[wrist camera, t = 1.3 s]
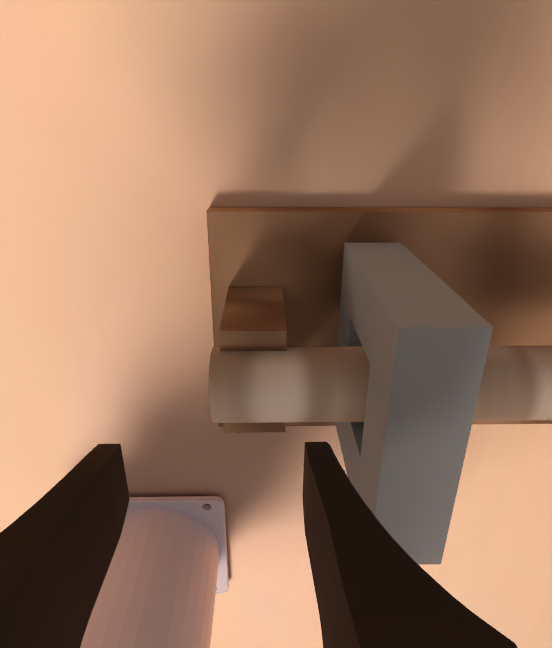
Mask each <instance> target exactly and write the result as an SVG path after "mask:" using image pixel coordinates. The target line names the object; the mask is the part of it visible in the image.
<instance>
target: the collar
mask: <svg viewBox="0 0 552 648" xmlns="http://www.w3.org/2000/svg"><path fill="white" fill-rule="evenodd" d="M492 330H493V326H492V325H491V324H489V323H488V322H487V321H486V320H485V319H484V318H483V317H482V316H481V315H480V314H478V313H477V312H476V311H475V310H474V309H473V308H472V307H471V306H470V305H469V304H467V303H466V302H465V301H464V300H463V299H462V298H461V297H460V296H459V295H458V294H456V293H455V292H454V291H453V290H452V289H451V288H450V287H449V286H448V285H447V284H446V283H444V282H443V281H442V280H441V279H440V278H439V277H438V276H437V275H436V274H435V273H433V272H432V271H431V270H430V269H429V268H428V267H427V266H426V265H425V264H424V263H422V262H421V261H420V260H419V259H418V258H417V257H416V256H415V255H414V254H413V253H411V252H410V251H409V250H408V249H407V248H406V247H405V246H404V245H403V244H402V243H344V256H343V270H342V285H341V300H340V314H339V329H338V343H337V347H338V346H363V349H364V351H365V353H366V356H367V358H368V360H369V363H370V370H369V380H368V389H367V399H366V409H365V418H364V422H335V424H336V428H337V432H338V436H339V441H340V445H341V449H342V454H343V458H344V462H345V467H346V471H347V475H348V478H349V480H350V482H351V483H352V485H353V486H354V488H355V489H356V490H357V492H358V493H359V495H360V496H361V498H362V499H363V501H364V502H365V503H366V505H367V506H368V507H369V509H370V510H371V511H372V513H373V514H374V515H375V517H376V518H377V519H378V520H379V522H380V523H381V524H382V525H383V527H384V528H385V529H386V530H387V531H388V533H389V534H390V535H391V536H392V537H393V538H394V540H395V541H396V542H397V543H398V544H399V545H400V546H401V547H402V548H403V549H404V551H405V552H406V553H407V554H408V555H409V556H410V557H411V558H412V559H413V560H414V561H415V562H416V563H417V564H441V561H442V556H443V552H444V547H445V543H446V538H447V534H448V529H449V525H450V520H451V516H452V511H453V507H454V502H455V497H456V493H457V488H458V484H459V479H460V475H461V470H462V466H463V461H464V457H465V452H466V448H467V443H468V439H469V434H470V430H471V425H472V421H473V416H474V412H475V407H476V403H477V398H478V394H479V389H480V384H481V380H482V375H483V371H484V366H485V362H486V357H487V353H488V348H489V344H490V339H491V335H492Z"/></svg>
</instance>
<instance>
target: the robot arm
mask: <svg viewBox="0 0 552 648" xmlns="http://www.w3.org/2000/svg"><path fill="white" fill-rule="evenodd" d="M205 504H209V505H205ZM303 510H304V524H305V535H306V541H307V546H308V552H309V558H310V564H311V569H312V575H313V580H314V586H315V592H316V597H317V603H318V609H319V615H320V622H321V629H322V639H323V648H517V646H516V644H515V643H514V642H512V641H511V640H510V639H508V638H507V637H505V636H504V635H503V634H501V633H500V632H499V631H497V630H496V629H494V628H493V627H492V626H490V625H489V624H488V623H486V622H485V621H483V620H482V619H481V618H479V617H478V616H476V615H475V614H474V613H473V612H471V611H470V610H469V609H467V608H466V607H465V606H464V605H463V604H461V603H460V602H459V601H458V600H456V599H455V598H454V597H453V596H452V595H450V594H449V593H448V592H447V591H446V590H445V589H444V588H443V587H442V586H441V585H440V584H438V583H437V582H436V581H435V580H434V579H433V578H432V577H431V576H430V575H429V574H428V573H426V572H425V571H424V570H423V569H422V568H421V567H420V566H419V565H418V564H417V563H416V562H415V561H414V560H413V559H412V558H411V557H410V556H409V555H408V554H407V553H406V552H405V551H404V549H403V548H402V547H401V546H400V545H399V544H398V543H397V542H396V541H395V540H394V538H393V537H392V536H391V535H390V534H389V533H388V531H387V530H386V529H385V528H384V527H383V525H382V524H381V523H380V522H379V520H378V519H377V518H376V517H375V515H374V514H373V513H372V511H371V510H370V509H369V507H368V506H367V505H366V503H365V502H364V501H363V499H362V498H361V496H360V495H359V493H358V492H357V490H356V489H355V488H354V486H353V485H352V483H351V482H350V480H349V478H348V477H347V475H346V474H345V472H344V470H343V469H342V467H341V465H340V463H339V462H338V460H337V458H336V456H335V454H334V452H333V450H332V448H331V446H330V445H329V444H328V443H327V442H305V451H304V476H303ZM228 587H229V578H228V559H227V541H226V522H225V503H224V500H223V499H222V498H221V497H219V496H181V497H129V493H128V487H127V481H126V475H125V469H124V463H123V457H122V451H121V445H120V444H98V445H97V446H96V447H95V448H94V449H93V450H92V451H91V452H89V453H88V454H87V455H86V456H85V457H84V458H83V459H82V460H81V461H80V462H79V463H78V464H77V465H76V466H75V467H74V468H73V469H72V470H71V471H70V472H69V473H68V474H67V475H66V476H65V477H64V478H63V479H61V480H60V481H59V482H58V483H57V484H56V485H55V486H54V487H53V488H52V489H51V490H50V491H49V492H48V493H46V494H45V495H44V496H43V497H42V498H41V499H40V500H39V501H38V502H37V503H35V504H34V505H33V506H32V507H31V508H30V509H28V510H27V511H26V512H25V513H24V514H23V515H21V516H20V517H19V518H18V519H17V520H16V521H14V522H13V523H12V524H11V525H10V526H8V527H7V528H6V529H5V530H3V531H2V532H1V533H0V648H210V641H211V632H212V622H213V612H214V603H215V593H224V592H226V591H227V590H228Z"/></svg>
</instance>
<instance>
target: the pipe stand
mask: <svg viewBox="0 0 552 648" xmlns="http://www.w3.org/2000/svg"><path fill="white" fill-rule="evenodd" d="M207 226H208V244H209V262H210V280H211V298H212V316H213V334H214V347H213V348H212V352H211V358H210V369H209V408H210V417H211V421H212V423H218V424H219V426H224V433H228V432H285V426H330V425H336V424H335V422H364V418H365V409H366V399H367V389H368V380H369V370H370V363H369V360H368V358H367V356H366V353H365V351H364V349H363V346H338V347H337V343H338V329H339V314H340V300H341V285H342V270H343V256H344V243H402V244H403V245H404V246H405V247H406V248H407V249H408V250H409V251H410V252H411V253H413V254H414V255H415V256H416V257H417V258H418V259H419V260H420V261H421V262H422V263H424V264H425V265H426V266H427V267H428V268H429V269H430V270H431V271H432V272H433V273H435V274H436V275H437V276H438V277H439V278H440V279H441V280H442V281H443V282H444V283H446V284H447V285H448V286H449V287H450V288H451V289H452V290H453V291H454V292H455V293H456V294H458V295H459V296H460V297H461V298H462V299H463V300H464V301H465V302H466V303H467V304H469V305H470V306H471V307H472V308H473V309H474V310H475V311H476V312H477V313H478V314H480V315H481V316H482V317H483V318H484V319H485V320H486V321H487V322H488V323H489V324H491V325H492V326H493V330H492V335H491V339H490V344H489V348H488V353H487V357H486V362H485V366H484V371H483V375H482V380H481V384H480V389H479V394H478V398H477V403H476V407H475V412H474V416H473V421H472V424H552V208H307V207H209V209H208V210H207Z"/></svg>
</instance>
